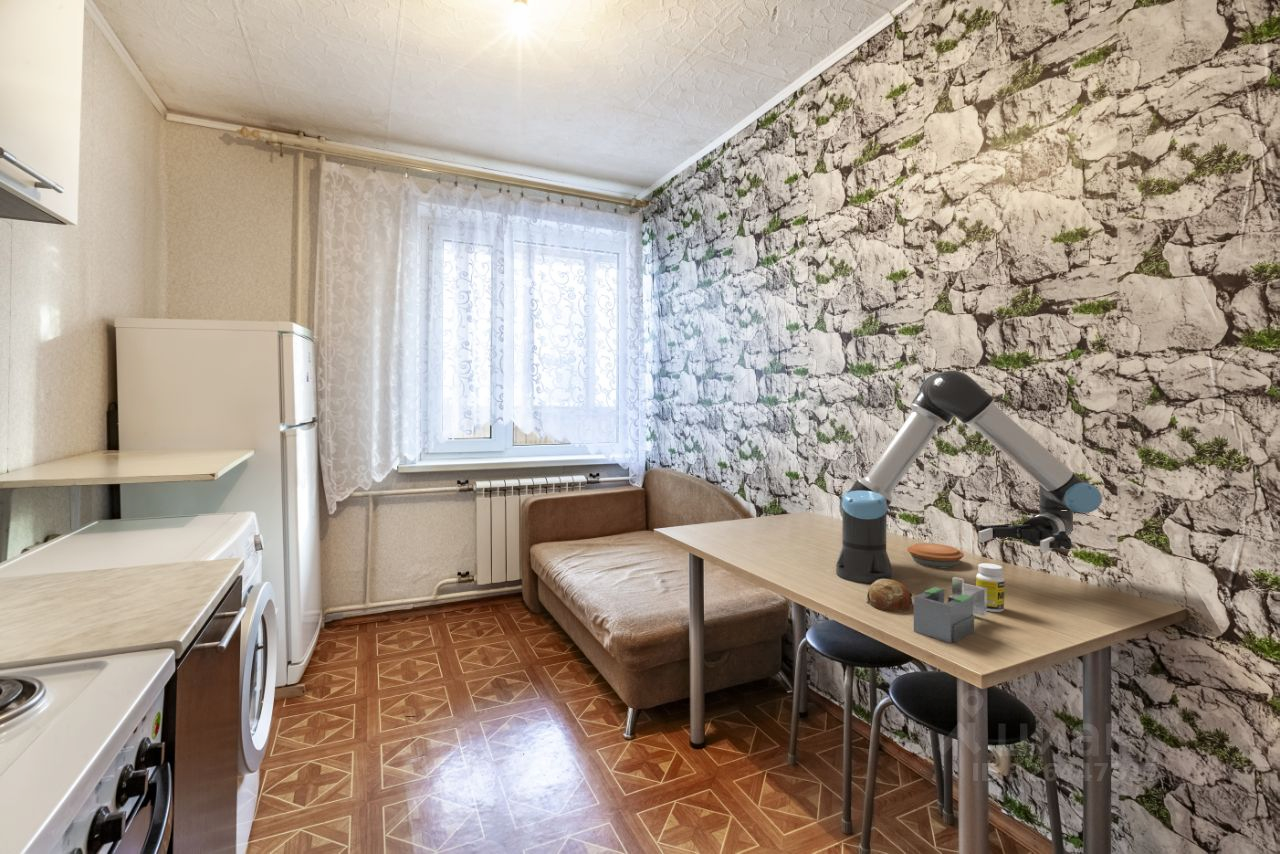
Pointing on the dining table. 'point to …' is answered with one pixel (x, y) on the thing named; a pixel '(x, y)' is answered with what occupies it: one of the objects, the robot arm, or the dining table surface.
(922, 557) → the pie
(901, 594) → the bread roll
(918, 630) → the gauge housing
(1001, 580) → the supplement bottle
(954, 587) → the plunger
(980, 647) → the dining table surface
